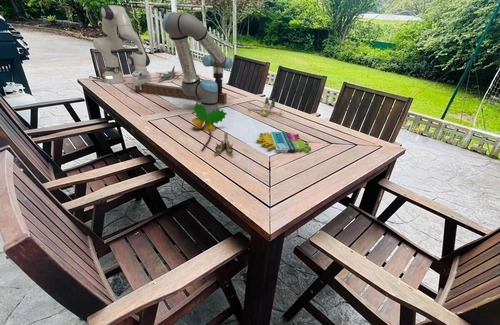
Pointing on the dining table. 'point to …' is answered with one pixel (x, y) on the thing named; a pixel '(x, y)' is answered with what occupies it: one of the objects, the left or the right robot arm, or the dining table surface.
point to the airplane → (168, 75)
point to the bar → (173, 92)
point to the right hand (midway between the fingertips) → (218, 101)
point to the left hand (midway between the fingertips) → (143, 89)
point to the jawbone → (224, 145)
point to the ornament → (207, 117)
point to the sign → (283, 142)
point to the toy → (266, 108)
